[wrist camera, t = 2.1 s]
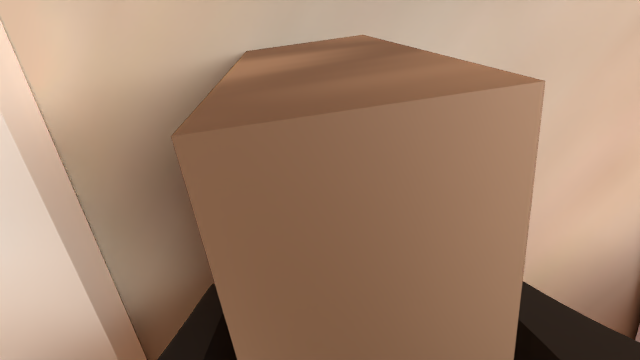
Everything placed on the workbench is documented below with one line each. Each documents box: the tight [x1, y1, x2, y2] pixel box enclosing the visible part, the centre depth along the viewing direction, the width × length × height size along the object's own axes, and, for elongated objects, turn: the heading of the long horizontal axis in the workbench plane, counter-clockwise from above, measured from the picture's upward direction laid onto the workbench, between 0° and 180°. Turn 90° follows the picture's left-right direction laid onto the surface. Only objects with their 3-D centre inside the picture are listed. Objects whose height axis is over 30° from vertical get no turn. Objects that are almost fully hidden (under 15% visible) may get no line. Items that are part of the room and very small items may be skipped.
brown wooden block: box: [171, 35, 545, 360], centre depth 8 cm, size 4×12×7 cm, turn 7°
